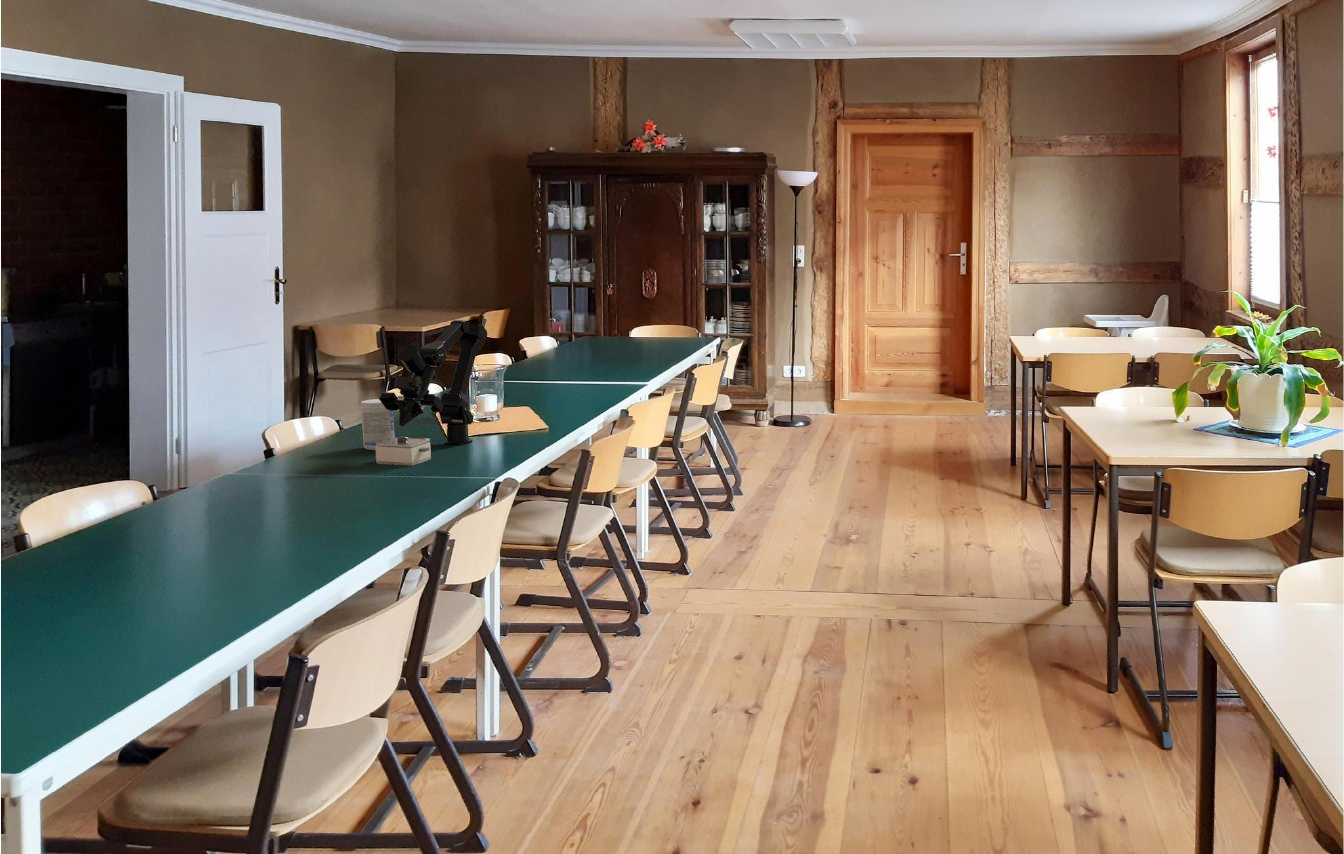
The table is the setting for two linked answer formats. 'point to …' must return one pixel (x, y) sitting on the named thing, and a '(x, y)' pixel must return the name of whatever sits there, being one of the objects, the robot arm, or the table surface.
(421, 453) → the pot
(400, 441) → the lid
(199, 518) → the table surface
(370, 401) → the supplement tub
